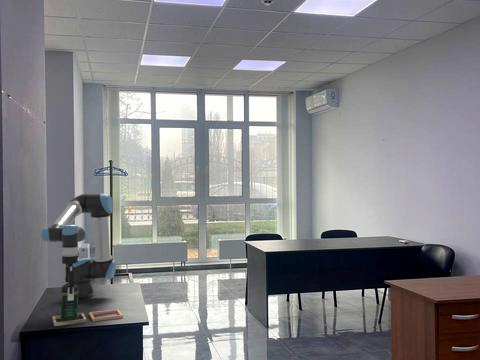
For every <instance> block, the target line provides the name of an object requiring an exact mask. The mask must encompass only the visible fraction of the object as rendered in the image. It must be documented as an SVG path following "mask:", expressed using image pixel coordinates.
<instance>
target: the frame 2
mask: <svg viewBox="0 0 480 360" xmlns="http://www.w3.org/2000/svg"><path fill="white" fill-rule="evenodd" d="M88 313H89V314H88V316H89V317H90V319H91V321H92V322H99V321H100V322H101V321H109V320H117V319H123V318H124V314H123V313H122V312H121V311H120V310H119V309H118V308H117V309H116V308H115V309H109V310H108V309H107V310H101V311H90V312H88ZM115 313H116V315H115ZM108 314H114V315H108ZM98 315H107V316H99V317H95V316H98Z"/></svg>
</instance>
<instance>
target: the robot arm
mask: <svg viewBox="0 0 480 360" xmlns="http://www.w3.org/2000/svg"><path fill="white" fill-rule="evenodd" d="M113 212H114V202H113V198H112V197H111V195H110V194H108V193H107V194H106V193H84V194H83V193H82V194H79V195H77V196H75V197H74V198H72V199H71V200H69V202H67V203H66V205H65V209H64V210H63V212H62V213H61V214H60V215H59V216H58V217H57V219H56V220H55V221H54V223H52V225H51V226H47V227H43V228H42V230H41V232H40V238H41V241H43V242H45V243H46V242H48V243H51V242H52V243H55V242H56V243H59V242H60V243H61V242H62V245H61V247H62V248H61V249H60V251H61V255H62V256H61V264H63V265H65V266H64V267H65V269H64V270H65V278H64V280H65V284H67V283H68V286H67V288H68V301H71V300H74V284H76V285H77V286H78V299H86V298H87V299H88V298H91V297H94V296H95V290H94V287H93V284H92V280H112V279H113V278H114V276H115V273H116V270H117V261H116V259H115V260H114V259H113V258H114V257H113V255H111V249H110V231H109V217H110V216H111V214H112V213H113ZM81 214H90V218H91V219H93V232H94V233H93V235H94V251H95V253H94V254H95V256H94V257H93V259H92V257H82V258H79V256H78V254H79V242H83V241H84V240H85V239H86V238H87V236H88V233H87V230H86V229H85V228H84V227H82V226H78V224H72V223H73V222H74V221H75V219H76V218H77V217H79V216H80V215H81ZM65 284H64V285H65Z"/></svg>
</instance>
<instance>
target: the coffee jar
mask: <svg viewBox="0 0 480 360" xmlns="http://www.w3.org/2000/svg"><path fill="white" fill-rule="evenodd" d="M67 286H68V283H67V284H63V285H62V287H61V296H60V300H61V301H60V302H61V303H60V305H61V306H60V315H61V319H60V322H62V321H71V320H78V317H77V314H78V307H79V306H78V304H79V298H78V286H77V285H76V284H74V300H71V301H68V288H67Z"/></svg>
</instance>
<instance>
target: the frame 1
mask: <svg viewBox="0 0 480 360" xmlns="http://www.w3.org/2000/svg"><path fill="white" fill-rule="evenodd" d="M79 317H80V318H81V319H77V320H71V321H62V322H61V321H57V320H61V314H60V315H54V316H53V315H52V322H53V326H54V327H59V326H66V325H73V324H74V325H75V324H83V323H84V324H85V323H87V317H86V316H85V313H84V312H80V313H77V318H79Z"/></svg>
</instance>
